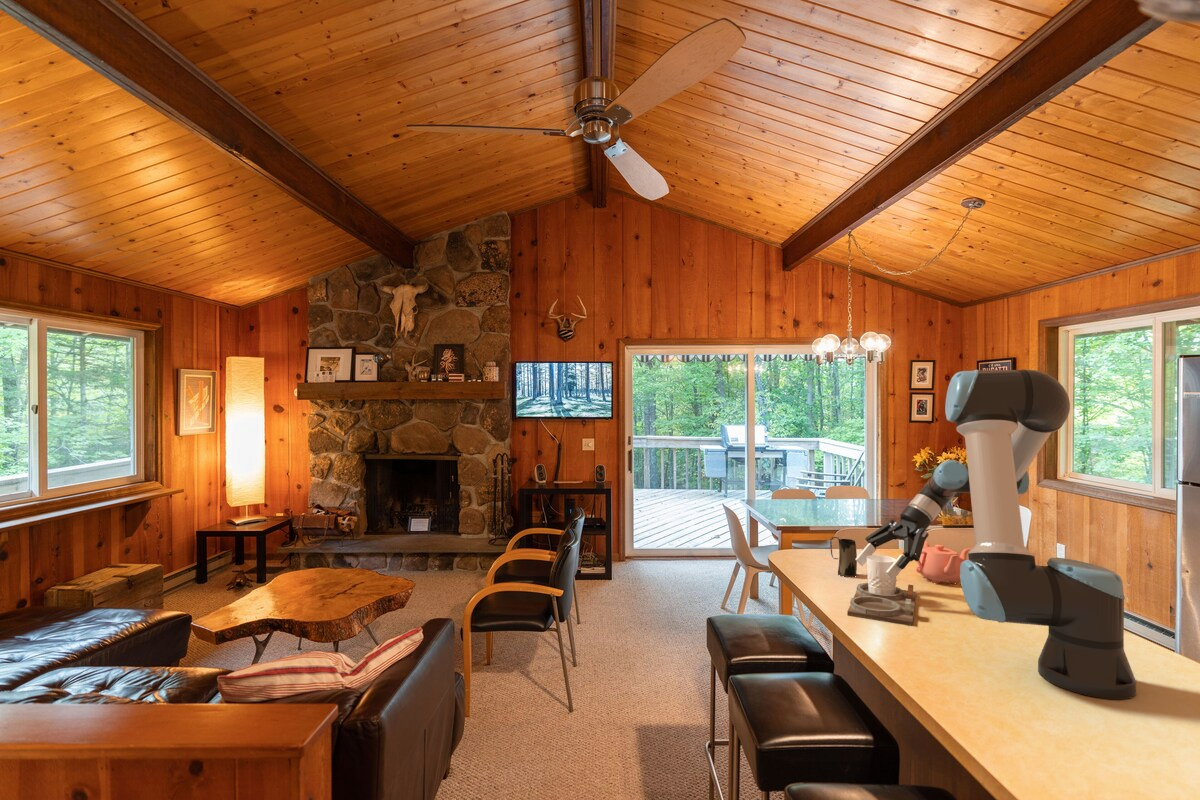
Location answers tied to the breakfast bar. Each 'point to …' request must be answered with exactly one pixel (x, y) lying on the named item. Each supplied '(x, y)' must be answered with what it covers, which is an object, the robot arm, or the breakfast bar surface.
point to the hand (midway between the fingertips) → (873, 568)
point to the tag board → (884, 605)
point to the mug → (846, 557)
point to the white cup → (880, 575)
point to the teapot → (940, 563)
